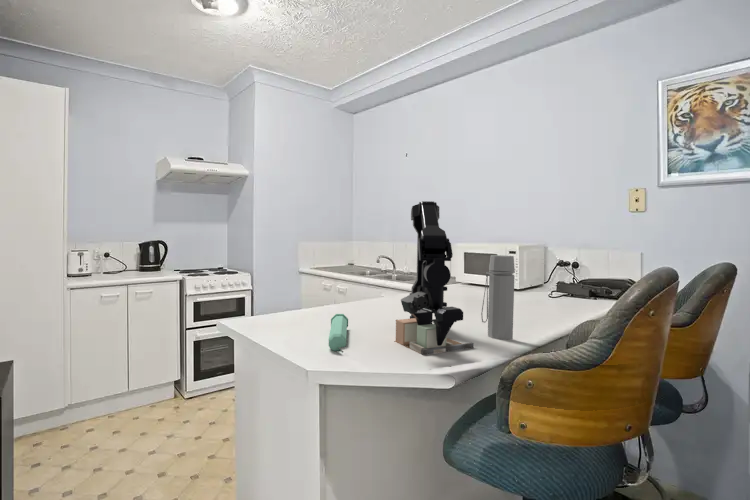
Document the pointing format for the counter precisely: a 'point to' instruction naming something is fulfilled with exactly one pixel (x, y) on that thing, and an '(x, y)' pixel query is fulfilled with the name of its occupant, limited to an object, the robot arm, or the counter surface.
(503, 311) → the water bottle
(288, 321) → the counter surface
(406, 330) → the rust box
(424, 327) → the tea box
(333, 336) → the container
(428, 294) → the robot arm
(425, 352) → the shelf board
